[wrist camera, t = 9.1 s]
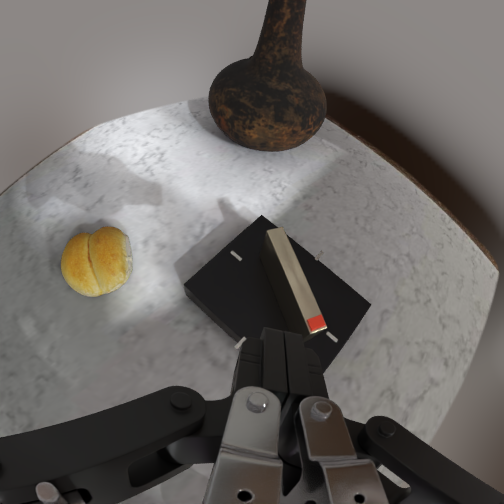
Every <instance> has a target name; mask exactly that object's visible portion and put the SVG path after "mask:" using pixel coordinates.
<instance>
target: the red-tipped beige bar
mask: <svg viewBox="0 0 504 504" xmlns="http://www.w3.org/2000/svg"><path fill="white" fill-rule="evenodd" d="M259 256H260V259H261V261H262V264H263V266H264V269H265V271H266V274H267V277H268V279H269V282H270V284H271V287H272V289H273V292H274V294H275V297H276V299H277V302H278V304H279V307H280V309H281V312H282V314H283V317H284V319H285V322H286V324H287V327H288V329H289V332H291V333H296V334H301V335H302V337H303V342H305V341H307V340H310V339H311V338H313V337H314V336H316V335H317V334H319V333H320V332H321V331H323V330H324V329H326V328H327V326H326V323H325V321H324V319H323V316H322V314H321V312H320V309H319V307H318V305H317V302H316V300H315V298H314V295H313V293H312V291H311V289H310V286H309V284H308V282H307V279H306V277H305V275H304V273H303V270H302V268H301V266H300V264H299V261H298V259H297V257H296V255H295V253H294V250H293V248H292V246H291V244H290V242H289V239H288V237H287V235H286V233H285V231H284V229H283V227H279V228H275V229H271V230H267V232H266V235H265V239H264V242H263V245H262V248H261V252H260V255H259Z"/></svg>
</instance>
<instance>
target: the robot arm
mask: <svg viewBox="0 0 504 504" xmlns="http://www.w3.org/2000/svg"><path fill="white" fill-rule="evenodd" d="M201 463H214V465H213V468H212V472H211V475H210V479H209V482H208V486H207V489H206V492H205V496H204V499H203V502H202V504H504V494H502V493H500V492H499V491H497V490H495V489H494V488H492V487H491V486H489V485H487V484H485V483H484V482H483V481H481V480H480V479H478V478H476V477H475V476H473V475H472V474H470V473H469V472H467V471H466V470H464V469H462V468H461V467H460V466H458V465H457V464H455V463H454V462H452V461H451V460H449V459H448V458H446V457H445V456H443V455H442V454H441V453H439V452H438V451H436V450H435V449H433V448H432V447H430V446H429V445H428V444H426V443H425V442H423V441H422V440H421V439H419V438H418V437H416V436H415V435H414V434H412V433H411V432H409V431H408V430H407V429H405V428H404V427H403V426H401V425H400V424H398V423H397V422H396V421H394V420H393V419H391V418H388V417H385V416H375V417H372V418H370V419H369V420H368V421H367V423H366V424H362V423H359V422H355V421H352V420H349V419H346V418H344V417H343V414H342V412H341V409H340V408H339V406H338V405H337V404H335V403H334V402H333V401H331V400H329V397H328V393H327V388H326V384H325V380H324V376H323V372H322V368H321V363H320V359H319V357H318V356H317V354H316V353H315V352H314V351H313V349H310V348H305V347H304V342H303V337H302V335H301V334H296V333H291V332H286V331H281V330H276V329H271V328H266V327H264V328H263V331H262V334H261V337H260V339H258V338H253V337H248V338H247V339H245V340H244V341H243V342H242V345H241V349H240V352H239V356H238V360H237V363H236V367H235V371H234V376H233V383H232V388H231V395H230V396H229V397H227V398H225V399H222V400H215V401H205V400H204V398H203V397H202V396H201V395H200V394H199V393H198V392H196V391H194V390H192V389H190V388H187V387H183V386H171V387H167V388H164V389H161V390H159V391H156V392H154V393H151V394H149V395H146V396H143V397H140V398H138V399H135V400H132V401H130V402H127V403H124V404H121V405H118V406H115V407H112V408H109V409H106V410H103V411H100V412H97V413H94V414H91V415H88V416H84V417H81V418H78V419H74V420H71V421H67V422H64V423H60V424H57V425H53V426H49V427H45V428H41V429H37V430H33V431H29V432H25V433H20V434H16V435H11V436H6V437H1V438H0V504H117V503H119V502H121V501H124V500H126V499H128V498H131V497H133V496H135V495H137V494H139V493H142V492H144V491H146V490H148V489H150V488H152V487H154V486H156V485H158V484H160V483H162V482H164V481H166V480H168V479H170V478H172V477H173V476H175V475H177V474H179V473H181V472H183V471H184V470H186V469H188V468H190V467H191V466H192V465H193V464H201ZM382 464H383V465H384V466H385V467H386V468H388V469H389V470H390V471H392V472H393V473H394V474H396V475H397V476H398V477H400V478H401V479H402V480H404V481H405V482H406V483H408V484H409V485H410V487H408V488H401V487H399V486H397V485H396V484H395V483H393V482H392V481H391V480H390V479H388V478H387V477H386V476H384V475H383V474H382V473H381V472H379V471H378V470H377V469H378V468H379V467H380V466H381V465H382Z"/></svg>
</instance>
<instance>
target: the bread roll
mask: <svg viewBox="0 0 504 504" xmlns="http://www.w3.org/2000/svg"><path fill="white" fill-rule="evenodd" d="M61 270H62V274H63V276H64V278H65V280H66V282H67V283H68V284H69V286H70V287H71V288H72V289H74V290H75V291H76V292H78V293H80V294H82V295H85V296H89V297H97V296H100V295H102V294H106V293H110V292H113V291H115V290H117V289H118V288H120V287H121V286H122V285H123V284H124V283H125V282H126V281H127V280H128V278H129V276H130V274H131V272H132V252H131V247H130V242H129V238H128V236H127V235H125V234H124V233H123V232H122V231H121V230H119V229H117V228H115V227H102V228H101V229H99V230H97V231H96V232H95V233H93V234H89V233H80V234H78V235H76V236H74V237H73V238H72V239H71V240H70V241H69V242H68V243H67V245H66V247H65V249H64V252H63V254H62V259H61Z"/></svg>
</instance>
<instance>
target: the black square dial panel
mask: <svg viewBox="0 0 504 504" xmlns="http://www.w3.org/2000/svg"><path fill="white" fill-rule="evenodd" d="M275 228H278V227H276V226H275V225H274V224H273V223H271V222H270V221H269V220H268V219H266V218H265V217H264V216H262V215H261V216H260V217H259V218H257V219H256V220H255V221H254V222H253V223H252V224H251V225H250V226H248V227H247V228H246V229H245V230H244V231H243V232H242V233H240V234H239V235H238V236H237V237H236V238H235V239H234V240H233V241H231V242H230V243H229V244H228V245H227V246H226V247H225V248H224V249H222V250H221V251H220V252H219V253H218V254H217V255H216V256H215V257H214V258H212V259H211V260H210V261H209V262H208V263H207V264H206V265H205V266H204V267H202V268H201V269H200V270H199V271H198V272H197V273H196V274H195V275H194V276H192V277H191V278H190V279H189V280H188V281H187V282H186V283H185V284H184V288H185V292H186V295H187V296H188V297H189V298H190V299H191V300H192V301H193V302H194V303H195V304H196V305H197V306H198V307H199V308H200V309H201V310H202V311H204V312H205V313H206V314H207V315H208V316H209V317H210V318H211V319H212V320H213V321H214V322H215V323H216V324H217V325H219V326H220V327H221V328H222V329H223V330H224V331H225V332H226V333H227V334H228V335H229V336H231V337H232V338H233V339H234V340H235V341H236V342H237V344H236V345H235V346H234V348H235V349H238V348H239V347H240V346H241V345H242V342H243V341H244V340H245V339H247V338H248V337H253V338H258V339H260V337H261V334H262V331H263V328H264V327H266V328H271V329H276V330H281V331H286V332H289V329H288V327H287V324H286V322H285V319H284V317H283V314H282V312H281V309H280V307H279V304H278V302H277V299H276V297H275V294H274V292H273V289H272V287H271V284H270V282H269V279H268V277H267V274H266V271H265V269H264V266H263V264H262V261H261V259H260V256H259V255H260V252H261V248H262V245H263V242H264V239H265V235H266V232H267V230H271V229H275ZM286 235H287V234H286ZM287 237H288V239H289V242H290V244H291V246H292V248H293V250H294V253H295V255H296V257H297V259H298V261H299V264H300V266H301V268H302V270H303V273H304V275H305V277H306V279H307V282H308V284H309V286H310V289H311V291H312V293H313V295H314V298H315V300H316V302H317V305H318V307H319V309H320V312H321V314H322V316H323V319H324V321H325V323H326V326H327V328H326V329H324V330H323V331H321V332H320V333H319V334H317V335H316V336H314V337H313V338H311V339H310V340H307V341H305V342H304V347H305V348H310V349H313V351H314V352H315V353H316V354H317V356H318V357H319V359H320V363H321V368H322V372H323V373H324V372H325V371H326V369H327V368H328V367H329V365H330V364H331V363H332V361H333V360H334V359H335V357H336V356H337V354H338V353H339V352H340V350H341V349H342V348H343V346H344V345H345V343H346V342H347V340H348V339H349V338H350V336H351V335H352V333H353V332H354V330H355V329H356V327H357V326H358V324H359V323H360V321H361V320H362V318H363V317H364V315H365V314H366V312H367V311H368V309H369V307H370V306H371V304H370V303H369V302H368V301H367V300H365V299H364V298H363V297H362V296H361V295H359V294H358V293H357V292H356V291H355V290H354V289H352V288H351V287H350V286H349V285H348V284H346V283H345V282H344V281H343V280H342V279H340V278H339V277H338V276H337V275H336V274H334V273H333V272H332V271H331V270H330V269H328V268H327V267H326V266H325V265H324V264H322V263H321V262H320V261H319V260H318V259H319V258H320V257H321V256H322V254H323V252H322V251H321V252H320V253H319V254H318V255H317V256H316V257H314V256H313V255H311V254H310V253H309V252H308V251H306V250H305V249H304V248H303V247H301V246H300V245H299V244H298V243H297V242H295V241H294V240H293V239H292V238H290V237H289V236H288V235H287Z"/></svg>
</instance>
